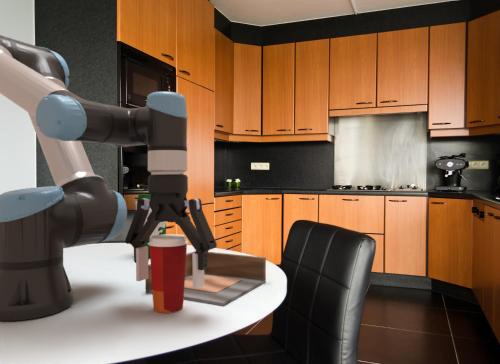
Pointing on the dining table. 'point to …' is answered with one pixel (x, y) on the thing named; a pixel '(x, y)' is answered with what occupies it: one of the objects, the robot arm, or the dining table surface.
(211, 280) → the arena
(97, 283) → the dining table surface
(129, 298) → the dining table surface
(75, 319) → the dining table surface
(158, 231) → the milk carton
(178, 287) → the paper cup
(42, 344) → the dining table surface
